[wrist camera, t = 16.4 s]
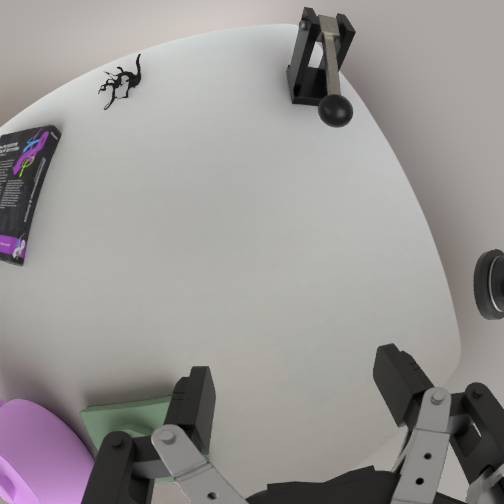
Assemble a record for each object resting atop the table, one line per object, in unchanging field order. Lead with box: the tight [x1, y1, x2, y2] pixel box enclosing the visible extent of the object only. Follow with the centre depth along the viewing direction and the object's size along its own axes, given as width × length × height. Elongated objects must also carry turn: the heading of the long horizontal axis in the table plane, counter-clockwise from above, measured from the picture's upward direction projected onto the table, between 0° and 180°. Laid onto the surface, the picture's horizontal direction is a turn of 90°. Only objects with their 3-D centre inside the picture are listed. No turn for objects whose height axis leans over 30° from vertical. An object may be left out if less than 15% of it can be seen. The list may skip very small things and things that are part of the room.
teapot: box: [0, 399, 94, 504], centre depth 14 cm, size 25×18×14 cm
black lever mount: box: [286, 7, 356, 106], centre depth 26 cm, size 7×6×13 cm
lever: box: [316, 15, 353, 128], centre depth 23 cm, size 14×4×4 cm, turn 2°
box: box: [0, 124, 61, 266], centre depth 25 cm, size 14×4×20 cm
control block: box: [79, 395, 209, 483], centre depth 20 cm, size 12×10×4 cm
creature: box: [98, 54, 141, 110], centre depth 28 cm, size 8×5×8 cm
